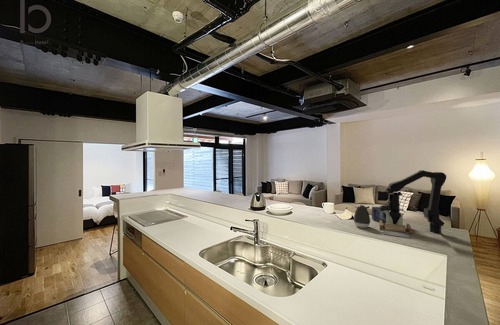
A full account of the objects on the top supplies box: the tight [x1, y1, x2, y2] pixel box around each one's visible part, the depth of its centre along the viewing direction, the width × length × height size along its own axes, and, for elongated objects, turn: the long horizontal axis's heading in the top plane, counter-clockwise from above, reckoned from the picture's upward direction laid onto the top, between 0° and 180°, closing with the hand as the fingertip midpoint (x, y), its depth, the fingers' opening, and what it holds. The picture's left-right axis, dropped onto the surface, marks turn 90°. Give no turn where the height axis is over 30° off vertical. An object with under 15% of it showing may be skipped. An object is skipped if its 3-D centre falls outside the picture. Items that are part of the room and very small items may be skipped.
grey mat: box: [383, 231, 411, 239], centre depth 129 cm, size 7×13×1 cm, turn 58°
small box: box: [371, 206, 390, 223], centre depth 159 cm, size 11×6×10 cm, turn 72°
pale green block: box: [385, 211, 404, 225], centre depth 142 cm, size 3×9×10 cm, turn 59°
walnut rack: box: [378, 220, 413, 235], centre depth 140 cm, size 15×17×3 cm
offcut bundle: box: [384, 222, 406, 232], centre depth 136 cm, size 2×11×4 cm, turn 58°
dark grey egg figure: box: [353, 204, 371, 229], centre depth 145 cm, size 10×10×15 cm
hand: (394, 224), depth 142 cm, fingers closed on pale green block, 5 cm apart
